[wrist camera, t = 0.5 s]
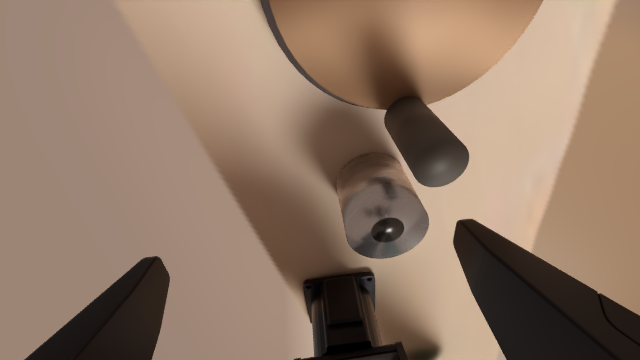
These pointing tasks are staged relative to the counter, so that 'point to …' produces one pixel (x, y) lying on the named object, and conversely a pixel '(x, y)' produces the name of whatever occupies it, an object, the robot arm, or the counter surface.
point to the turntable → (404, 62)
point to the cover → (380, 207)
